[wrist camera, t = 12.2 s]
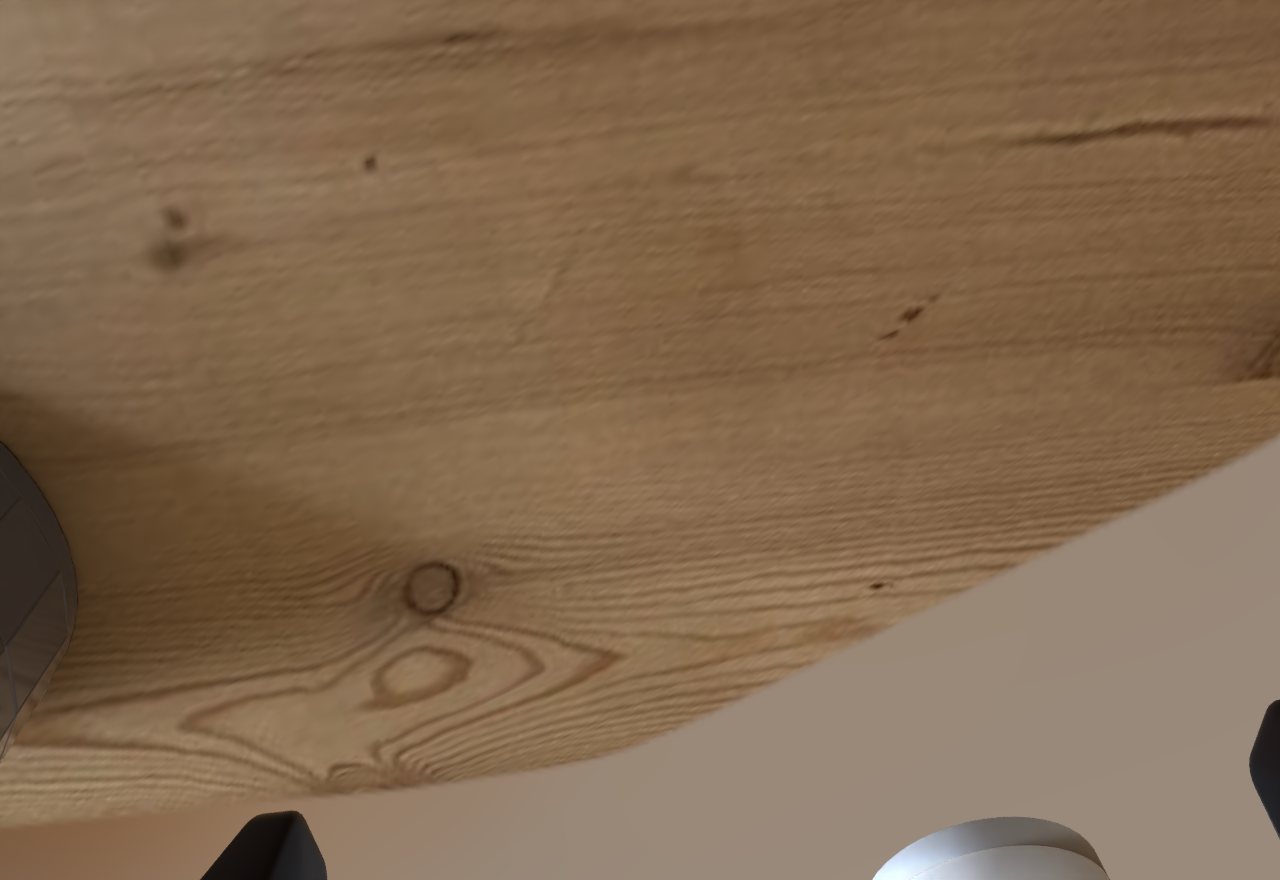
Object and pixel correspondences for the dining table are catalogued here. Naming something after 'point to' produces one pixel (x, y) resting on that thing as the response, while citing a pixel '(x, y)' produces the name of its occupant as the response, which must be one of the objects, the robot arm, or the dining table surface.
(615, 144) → the dining table surface
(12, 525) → the bowl
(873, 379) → the dining table surface
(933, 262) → the dining table surface
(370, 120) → the dining table surface
